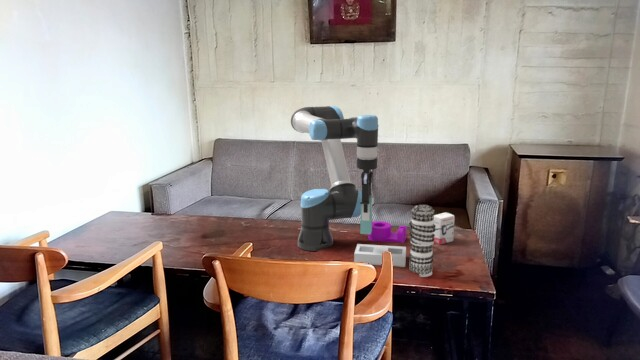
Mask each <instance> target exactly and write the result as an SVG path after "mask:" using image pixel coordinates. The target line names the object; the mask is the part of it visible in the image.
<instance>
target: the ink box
mask: <svg viewBox="0 0 640 360" xmlns="http://www.w3.org/2000/svg"><path fill="white" fill-rule="evenodd" d="M455 219H456V218H455V215H454V214H452V213H450V212H447V211H446V212H442V213H438V214H434V225H436V227H435V228H434V229H435V232H433V234H434V235H435V236H434V237H433V238H434V244H437V245H439V246H441V245H443V244H446V243H450V242H453V241H454V233H455V231H454V230H455Z"/></svg>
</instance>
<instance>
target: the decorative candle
mask: <svg viewBox="0 0 640 360" xmlns="http://www.w3.org/2000/svg"><path fill="white" fill-rule="evenodd" d="M411 213H412V215H411V220H410V222H409V224H408V225H409V236H410V237H409V243H410V251H409V252H410V253H408V254H409V257H408V258H409V259H408V261H409V262H408V264H409V265H408V269H409V271H411V272H412V273H414V274H418V277H419V278H428V277H430V276H432V275H433V270H434V268H433V266H434V254H433V253H434V252H433V251H434V250H433V245H434V244H435V243H434V238H433V237H434V236H435V235H434V234H433V232H435V229H434V228H435V227H436V225H434V215H435V214H434V213H435V209H433V207H432V206H430V205H428V204H418V205H417V204H416V205H415V206H414V207H413V208H412V209H411Z"/></svg>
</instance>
